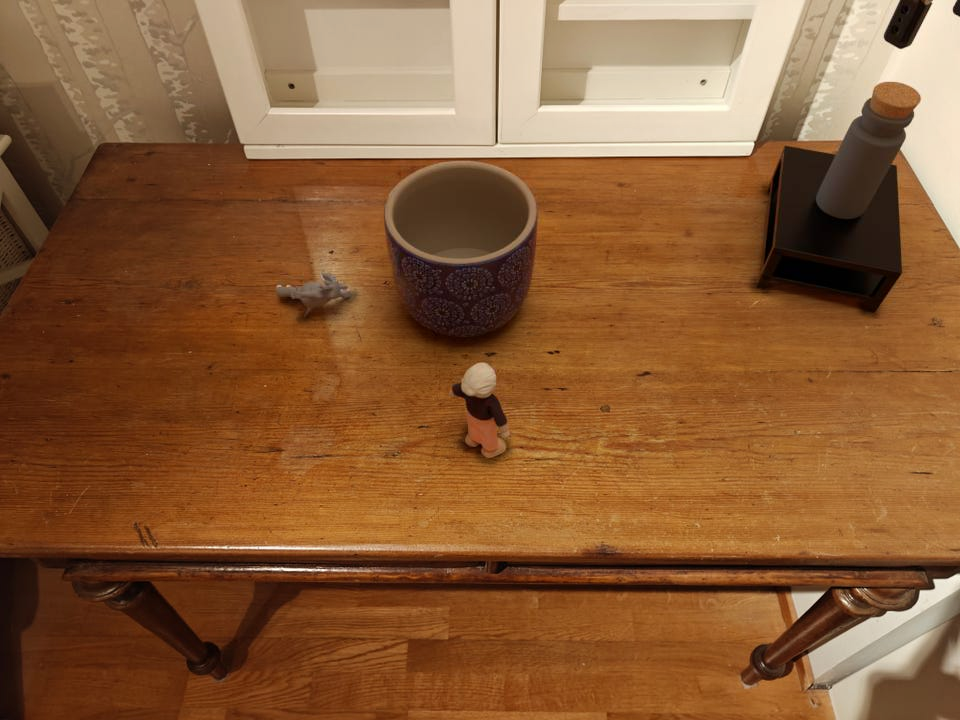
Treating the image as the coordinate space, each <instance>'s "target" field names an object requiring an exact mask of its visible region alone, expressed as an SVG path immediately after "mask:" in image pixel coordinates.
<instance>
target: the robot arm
mask: <svg viewBox="0 0 960 720" xmlns="http://www.w3.org/2000/svg"><path fill="white" fill-rule="evenodd" d="M933 1H934V0H899V1H898V4H897V5H896V7H895V9H894V12H893V13H892V16H891V18H890V20H889V22H888V25H887V26H886V29H885V31H884V32H883V39H884V41H885V42H887V43H888V44H889V45H892V46H893V47H895V48H897V49H899V50H903V49H905V48H908V47H910V46H911V45H912V44H913V42H914V40H915V39H916V36H917V35H918V32H919V31H920V29H921V27H922V25H923V23H924V21H925V19H926V17H927V15H928V13H929V11H930V9H931V7H932V5H933ZM952 13H953V14H954V15H955V16H957V17H959V18H960V0H956V1H955V3H954V5H953V7H952Z"/></svg>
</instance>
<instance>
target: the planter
mask: <svg viewBox="0 0 960 720" xmlns="http://www.w3.org/2000/svg"><path fill="white" fill-rule="evenodd" d="M383 208H384V209H383V221H384V223H383V224H384V232H385V240H386V247H387V253H388V258H389V263H390V269H391V273H392V274H391V275H392V278H393V282H394V285H395V288H396V291H397V294H398V297H399V300H400V301H401V303H402V305H403V306H404V308H405V310H406V311H407V313H408V314H409V315H410V316H411V317H412V318H413V319H414V320H415V321H416V322H418V323H419V324H420V325H422V326H423V327H425V328H427V329H429V330H431V331H432V332H435V333H438V334H440V335H444V336H447V337H453V338H469V337H470V338H471V337H478V336H482V335H485V334H488V333H491V332H494V331H495V330H497V329H500V328H501V327H503V326H504V325H505V324H507V323H508V322H509V321H511V319H513V318H514V317H515V316H516V315H517V313H518V312H519V311H520V310H521V308H522V307H523V305H524V303H525V301H526V300H527V297H528V295H529V291H530V288H531V283H532V280H533V273H534V268H535V261H536V260H535V259H536V250H537V240H538V224H539V217H538V215H539V213H538V204H537V200H536V197H535V196H534V193H533V192H532V190H531V189H530V188H529V186H528V185H527V184H526V183H525V182H524V181H523V180H522V179H521V178H519V177H518V176H517V175H515V174H514V173H512V172H511V171H508V170H506V169H504V168H502V167H500V166H498V165H497V166H496V165H493V164H490V163H486V162H482V161H481V162H480V161H473V160H453V161H452V160H451V161H444V162H443V161H442V162H439V163H435V164H431V165H427V166H424V167H422V168H420V169H418V170H416V171H414V172H412V173H410V174H409V175H407V176H406V177H404V178H403V179H402V180H401V181H400V182H399V183H398V184H397V185H396V186H394V188H393V189H392V190H391V191H390V193H389V194H388V196H387V199H386V201H385V205H384V207H383Z"/></svg>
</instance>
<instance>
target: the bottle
mask: <svg viewBox="0 0 960 720" xmlns="http://www.w3.org/2000/svg"><path fill="white" fill-rule="evenodd" d="M921 100H922V97H921V94H920V93H919V92H918V90H917V89H915V88H914V87H912V86H910V85H909V84H905V83H904V82H903V83H902V82H898V81H882V82H879V83H878V84H876V85H874V87H873V90H872V94H871V97H869V98H868V99H867V100H865V102H864V104H863V105H862V108H861V111H860V112H861V115H859V116H857V117H855V118H854V119H853V120H852V121H851V123H850V125H849V127H848V129H847V131H846V132H845V135H844V137H843V138H842V141H841V143H840V145H839V147H838V149H837V151H836V153H835V157H834V160H833V162H832V164H831V166H830V168H829V170H828V172H827V174H826V176H825V178H824V180H823V182H822V184H821V187H820V189H819V191H818V193H817V196H816V202H817V205H818V206H819V207H820V209H821V210H822V211H824V212H825V213H827V214H829V215H831V216H833V217H836V218H840V219H853V218H857V217H859V216H861V215H862V214H863V213H864V211H865V210H866V208H867V206H868V205H869V203H870V201H871V200H872V198H873V196H874V194H875V193H876V191H877V189H878V187H879V185H880V184H881V182H882V180H883V178H884V177H885V175H886V173H887V171H888V170H889V168H890V166H891V164H892V165H893V162H894V161H895V159H896V157H897V155H898V154H899V152H900V150H901V148H902V146H903V144H904V142H905V141H906V138H907V133H906V130H905V128H908V127H909V126H910V125H911V123H912V121H914V118H915V111H914V110H915V109H916V108H917V106H918V105H919V104H920V103H921Z"/></svg>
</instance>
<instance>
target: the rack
mask: <svg viewBox="0 0 960 720" xmlns="http://www.w3.org/2000/svg"><path fill="white" fill-rule="evenodd" d="M835 155H836V153H829V152H824V151H818V150H813V149H807V148H800V147H795V146H789V145H784V146H783V149H782V151H781V153H780V156H779V158H778V161H777V163H776V166H775V168H774V171H773V173H772V176H771V178H770V181H769V183H768V185H767V190H766V193H767V194H768V193H769V198H768V205H767V215H766V222H765V233H764V234H765V235H764V240H763V241H764V242H763V250H762V257H761V259H762V260H761V268H760V273H759V275H758V278H757V280H756V286H755V287H756V288H757V289H762V290H767V288H768V286H769V284H770V282H773V283H779V284H783V285H788V286H793V287H798V288H802V289H807V290H811V291H816V292H821V293H825V294H831V295H835V296H840V297H844V298H849V299H853V300H857V301H864V302H865V303H864V312H868V313H873V314H875V313H876V312H877V310H878V309H879V307H880V306H881V305H882V304H883V302H884V300H885V299H886V297H887V296H888V295H889V293H890V292H891V290H892V289H893V287H894V286H895V284H896V283H897V281H898V280H899V279H900V277H901V276H902V274H903V262H902V261H903V259H902V241H901V225H900V224H901V223H900V220H901V219H900V203H899V185H898V184H899V183H898V165H896V164H893V163H892V164H891V166H890V168H889V170H888V171H887V173H886V175H885V177H884V178H883V180H882V182H881V184H880V185H879V187H878V189H877V191H876V193H875V194H874V196H873V198H872V200H871V201H870V203H869V205H868V206H867V208H866V210H865V211H864V213H863V214H862V215H861V216H859V217H857V218H853V219H840V218H836V217H833V216H831V215H829V214H827V213H825V212H824V211H822V210H821V209H820V207H819V206H818V205H817V202H816V196H817V193H818V191H819V189H820V187H821V184H822V182H823V180H824V178H825V176H826V174H827V172H828V170H829V168H830V166H831V164H832V162H833V160H834V157H835Z"/></svg>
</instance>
